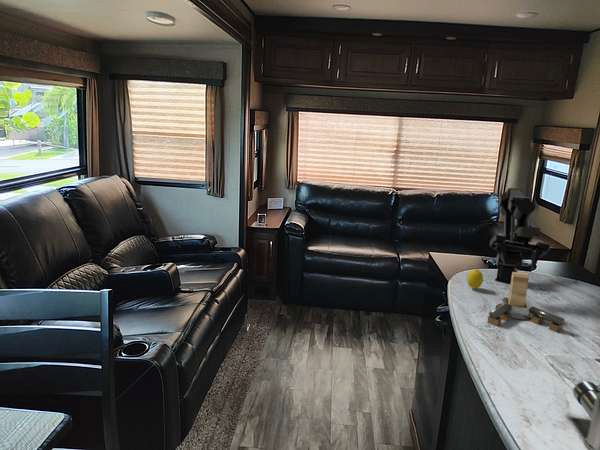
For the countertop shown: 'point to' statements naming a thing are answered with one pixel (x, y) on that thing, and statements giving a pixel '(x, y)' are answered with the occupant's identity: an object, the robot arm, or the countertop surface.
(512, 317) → the grey round socket base
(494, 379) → the countertop surface
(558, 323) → the shaft
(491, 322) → the shaft
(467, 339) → the countertop surface
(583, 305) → the countertop surface
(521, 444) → the countertop surface
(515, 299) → the block
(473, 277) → the lemon
